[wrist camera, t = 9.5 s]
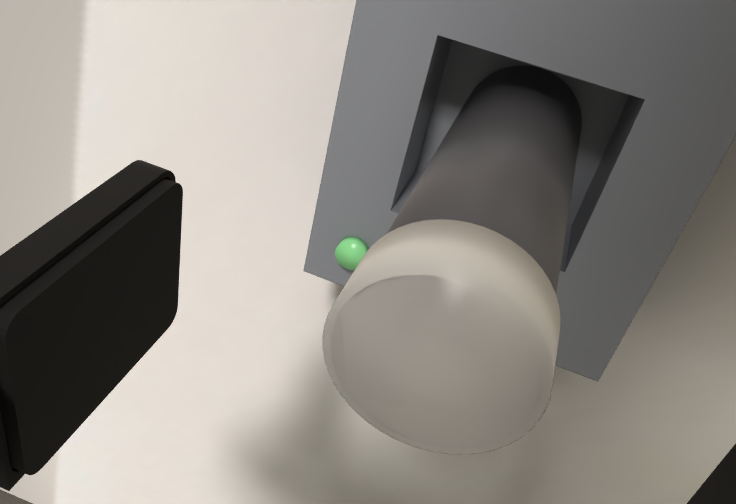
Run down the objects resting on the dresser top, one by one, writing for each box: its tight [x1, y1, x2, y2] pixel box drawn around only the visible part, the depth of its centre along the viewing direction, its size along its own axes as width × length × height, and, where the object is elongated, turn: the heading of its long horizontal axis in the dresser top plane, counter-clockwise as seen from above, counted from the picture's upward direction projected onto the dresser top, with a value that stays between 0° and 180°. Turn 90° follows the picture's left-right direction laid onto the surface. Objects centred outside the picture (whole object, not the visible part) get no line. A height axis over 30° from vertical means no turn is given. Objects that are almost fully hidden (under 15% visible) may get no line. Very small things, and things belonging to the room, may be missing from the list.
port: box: [304, 0, 736, 381], centre depth 20 cm, size 12×10×4 cm
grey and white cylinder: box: [323, 66, 582, 454], centre depth 16 cm, size 4×4×12 cm
